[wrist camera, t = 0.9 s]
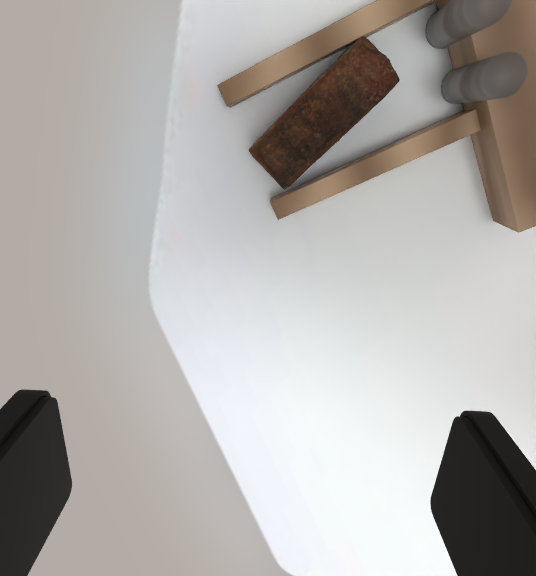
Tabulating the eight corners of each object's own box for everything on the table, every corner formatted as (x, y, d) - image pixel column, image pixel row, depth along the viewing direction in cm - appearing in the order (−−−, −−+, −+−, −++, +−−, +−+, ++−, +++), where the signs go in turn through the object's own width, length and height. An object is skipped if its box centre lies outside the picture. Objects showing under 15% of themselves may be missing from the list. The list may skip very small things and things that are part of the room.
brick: (284, 184, 33) (284, 193, 29) (251, 146, 32) (246, 150, 28) (390, 85, 30) (407, 79, 26) (356, 41, 29) (369, 26, 25)
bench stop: (458, -199, 24) (521, -317, 18) (543, 200, 33) (606, 219, 26) (171, -25, 28) (136, -69, 22) (313, 291, 37) (318, 327, 30)
